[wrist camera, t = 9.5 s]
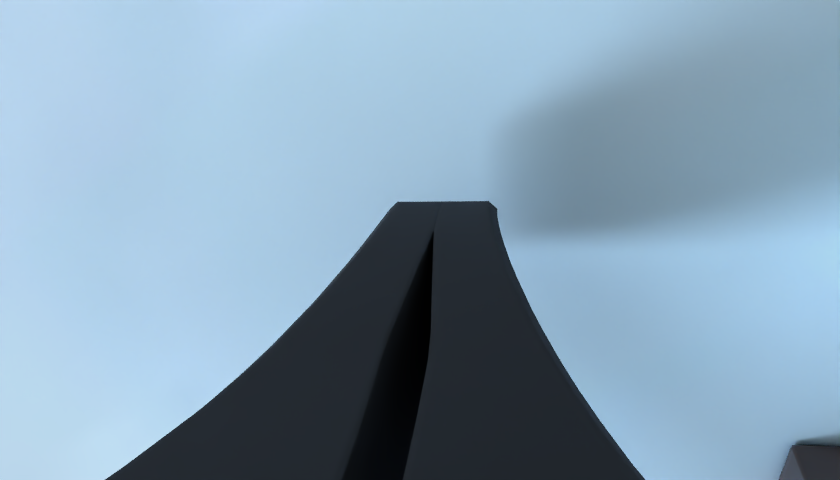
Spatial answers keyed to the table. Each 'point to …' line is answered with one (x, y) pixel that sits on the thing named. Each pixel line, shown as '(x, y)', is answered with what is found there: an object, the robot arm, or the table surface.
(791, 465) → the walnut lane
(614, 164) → the table surface
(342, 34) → the table surface
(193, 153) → the table surface
